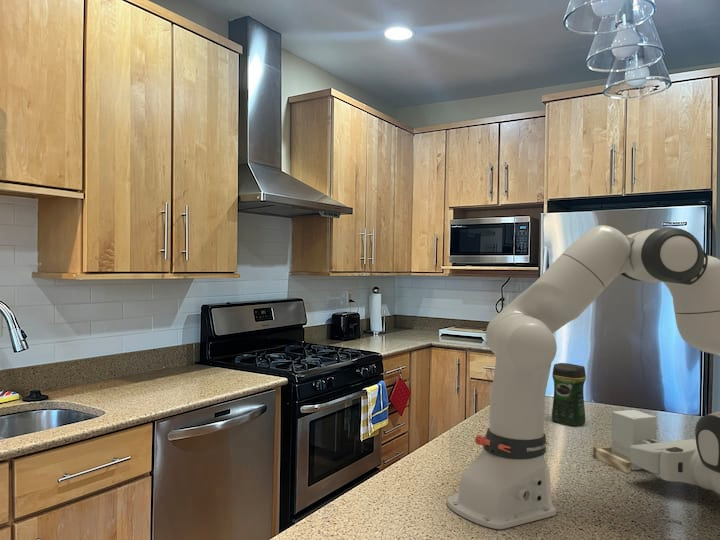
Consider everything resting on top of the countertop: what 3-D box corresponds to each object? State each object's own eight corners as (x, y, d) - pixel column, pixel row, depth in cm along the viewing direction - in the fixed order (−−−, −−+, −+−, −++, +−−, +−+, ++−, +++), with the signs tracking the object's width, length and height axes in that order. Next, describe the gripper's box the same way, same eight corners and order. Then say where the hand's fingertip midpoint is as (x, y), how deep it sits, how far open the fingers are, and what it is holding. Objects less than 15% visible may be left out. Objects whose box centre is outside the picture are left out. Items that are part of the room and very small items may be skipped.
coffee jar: (588, 423, 168) (590, 364, 168) (577, 428, 163) (578, 367, 163) (559, 416, 175) (560, 360, 175) (547, 421, 170) (548, 363, 170)
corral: (667, 468, 131) (667, 458, 131) (626, 473, 128) (626, 462, 128) (631, 452, 142) (631, 443, 142) (593, 456, 138) (593, 447, 138)
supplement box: (657, 468, 131) (658, 416, 131) (632, 470, 129) (633, 418, 129) (634, 457, 138) (634, 409, 138) (610, 460, 136) (611, 410, 136)
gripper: (732, 444, 120) (679, 426, 133) (660, 452, 114) (612, 432, 127) (732, 472, 120) (678, 451, 133) (660, 482, 114) (611, 459, 127)
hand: (645, 442), depth 130 cm, fingers closed, pressing on supplement box
